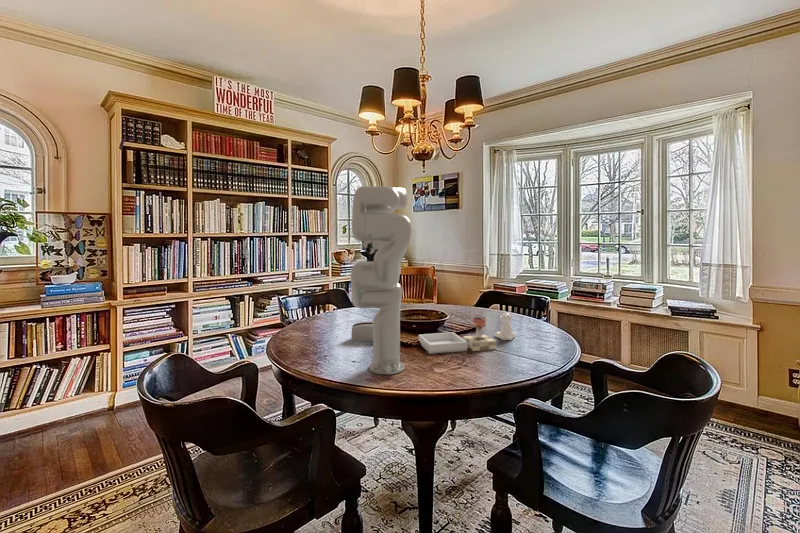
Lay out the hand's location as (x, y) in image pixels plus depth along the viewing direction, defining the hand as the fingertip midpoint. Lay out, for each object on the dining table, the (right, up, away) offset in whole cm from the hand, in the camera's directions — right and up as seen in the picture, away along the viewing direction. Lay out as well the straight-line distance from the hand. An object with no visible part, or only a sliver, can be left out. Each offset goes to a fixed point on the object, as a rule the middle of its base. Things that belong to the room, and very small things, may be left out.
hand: (383, 263), depth 161 cm
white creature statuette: (+54, -34, +17) cm, 67 cm away
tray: (+24, -35, +6) cm, 43 cm away
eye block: (+40, -35, +6) cm, 53 cm away
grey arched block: (-7, -35, +16) cm, 39 cm away
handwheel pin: (+40, -35, +6) cm, 53 cm away
